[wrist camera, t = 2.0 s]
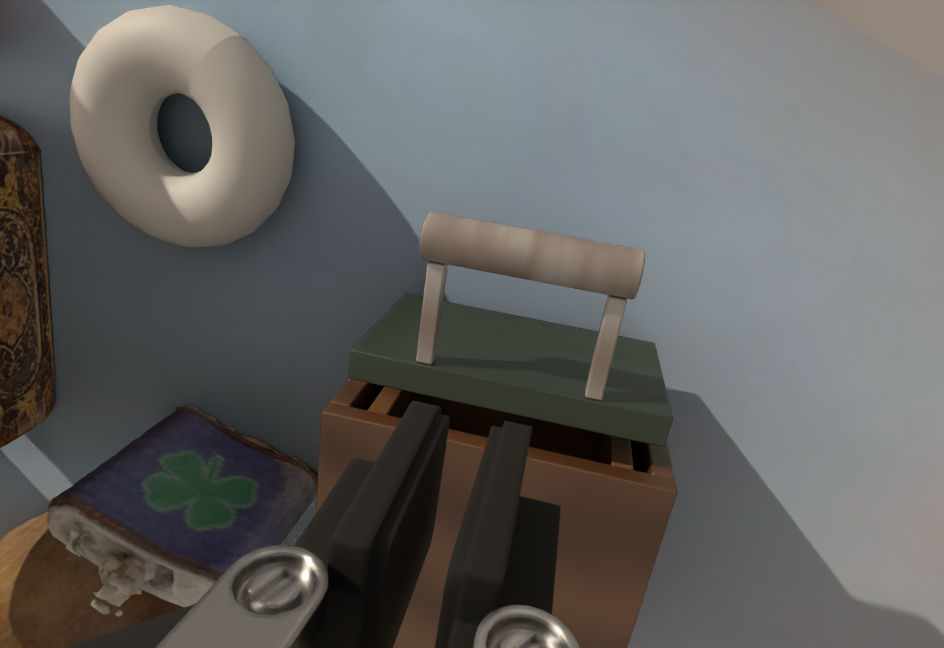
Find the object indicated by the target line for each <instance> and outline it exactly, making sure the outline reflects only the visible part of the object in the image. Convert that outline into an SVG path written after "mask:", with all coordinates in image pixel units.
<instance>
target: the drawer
mask: <svg viewBox="0 0 944 648" xmlns="http://www.w3.org/2000/svg"><path fill="white" fill-rule="evenodd" d="M420 255H421V258H422V259H423V260H427V261H429V262H428V263H427V271H426V280H425V288H424V297H420V296H414V295H409V294H404V295H403V296H402V297H401V298H400V299H399V300H398V301H397V302H396V303H395V304H394V305H393V306H392V307H391V308H390V310H389V311H388V312H387V313H386V314H385V315H384V316H383V317H382V318H381V319H380V320H379V321H378V322H377V323H376V324H375V325H374V326H373V327H372V328H371V329H370V331H369V332H368V333H367V334H366V335H365V336H364V337H363V338H362V339H361V340H360V341H359V342H358V343H357V344H356V345H355V346H354V347H353V348H352V349H351V353H350V366H349V378H350V379H353V380H358V381H362V382H367V383H371V384H376V385H381V386H385V387H384V388H383V390H382V391H381V392H380V394H379V395H378V397H377V398H376V399H375V401H374V402H373V403H372V405H371V406H370V408H369V409H368V410H367V411H371V412H376V413H380V414H385V415H389V416H394V417H398V418H402V417H403V415H404V413H405V412H406V410H407V408H408V407H409V405H410V403H411V402H412V401H417V402H422V403H426V404H431V405H435V406H440V407H441V415H446V416H450V423H449V429H452V430H456V431H461V432H465V433H470V434H474V435H479V436H483V437H487V438H488V436H489V433H490V430H491V427H492V426H495V427H500V428H503V424H504V421H508V422H513V423H517V424H522V425H526V426H531V427H532V433H531V438H530V444H529V447H532V448H537V449H541V450H546V451H550V452H555V453H559V454H563V455H568V456H572V457H577V458H581V459H586V460H590V461H595V462H599V463H604V464H608V465H613V466H617V467H622V468H626V469H631V470H634V468H633V458H632V448H631V440H633V441H638V442H642V443H647V444H651V445H656V446H660V447H664V446H665V444H666V441H667V437H668V434H669V431H670V428H671V424H672V421H673V417H672V412H671V408H670V404H669V400H668V396H667V392H666V388H665V383H664V379H663V375H662V371H661V367H660V363H659V359H658V354H657V350H656V346H655V343H652V342H647V341H642V340H637V339H632V338H627V337H622V336H618V335H619V331H620V327H621V323H622V319H623V315H624V311H625V307H626V303H627V299H634V298H635V297H636V295H637V293H638V290H639V286H640V283H641V279H642V274H643V269H644V263H645V251H644V250H642V249H636V248H631V247H625V246H620V245H614V244H609V243H603V242H598V241H592V240H587V239H581V238H575V237H570V236H564V235H559V234H553V233H548V232H542V231H537V230H531V229H525V228H520V227H514V226H509V225H503V224H498V223H492V222H487V221H481V220H475V219H470V218H464V217H459V216H453V215H448V214H442V213H437V212H429V213H428V215H427V217H426V219H425V221H424V224H423V228H422V233H421V239H420ZM448 265H454V266H459V267H464V268H470V269H475V270H480V271H485V272H491V273H496V274H501V275H506V276H512V277H517V278H522V279H527V280H533V281H538V282H543V283H548V284H554V285H559V286H564V287H569V288H575V289H580V290H585V291H590V292H596V293H601V294H606V295H607V299H606V304H605V308H604V312H603V316H602V321H601V325H600V329H599V332H596V331H591V330H586V329H581V328H576V327H571V326H566V325H561V324H556V323H551V322H546V321H541V320H536V319H531V318H526V317H521V316H516V315H510V314H505V313H500V312H495V311H490V310H485V309H480V308H475V307H470V306H465V305H460V304H455V303H450V302H445V301H443V297H444V289H445V282H446V274H447V266H448ZM626 298H627V299H626Z"/></svg>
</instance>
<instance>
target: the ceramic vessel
mask: <svg viewBox="0 0 944 648" xmlns="http://www.w3.org/2000/svg"><path fill="white" fill-rule="evenodd" d="M47 515H48V512H47V513H45V514H42V515H40V516H38V517H35V518H33V519H30V520H28V521H26V522H24V523H22V524H21V525H19V526H17V527H15V528H14V529H12V530H10V531H8V532H7V533H5V534H4V535H3V536H2V537H0V648H66V647H69V646H72V645H75V644H78V643H81V642H84V641H87V640H90V639H93V638H95V637H98V636H101V635H104V634H107V633H110V632H113V631H116V630H119V629H122V628H125V627H128V626H131V625H134V624H137V623H140V622H143V621H146V620H149V619H152V618H155V617H158V616H161V615H164V614H167V613H170V612H172V611H175V610H178V609H181V608H184V607H182V606H180V605H177V604H174V603H171V602H168V601H165V600H163V599H161V598H159V597H157V596H155V595H153V594H150V593H148V592H146V591H142V590H141V594H134V595H130V597H129V598H128V599H127V600H126V601H125V602H123V604H122V605H121V606H119V607H118V606H115V605H113V604H110V603H108V602H107V600H102V599H100V598H98V597H96V596H95V595H94V594H93V592H96V593H97V592H99V591H100V590H101V589H102V587H103V585H104V584H102V582H101V577H100V575H99V567H98V566H97V565H95V564H94V563H92V562H91V561H89V560H88V559H87V558H85V557H84V556H82V555H81V554H80V556H78V555H76V554H74V553H72V552H70V551H69V550H68V549H66V545H65V544H64V543H62V542H61V541H59V540H58V539H57V538H55V537H54V536H52V534H51V532H50V530H49V524H48V521H47ZM94 599H95V600H96V601H98V602H99V603H101V604H104V605H106V606H109V609H110V612H111V613H109V614H101V613H100V612H99V611H98V610H96V609H95V608H94V607H92V606H91V602H92V601H93V600H94ZM118 610H122V611H123V614H122V615H121V616H119V617H118V616H117V615H115V614H116V612H117V611H118Z"/></svg>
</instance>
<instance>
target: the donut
mask: <svg viewBox="0 0 944 648" xmlns="http://www.w3.org/2000/svg"><path fill="white" fill-rule="evenodd" d="M177 93H181V94H184V95H186V96H187V97H189V98H190V99H192V100H194V101H195V102H196V103H197V104H198V105H199V107H200V108H201V109H202V111H203V113H204V115H205V117H206V119H207V121H208V122H209V125H210V130H211V135H212V139H213V141H212V155H211V158H210V160H209V163H208V164H207V165H206V166H205V167H204V168H203V170H202V171H200V172H198V173H190V172H186V171H183V170H182V169H180V168H178V167H177V166H176V165H175V164H174V163H173V162H172V161H171V160H170V159H169V157H168V156H167V154H166V153H165V151H164V149H163V147H162V145H161V143H160V139H159V135H158V131H157V115H158V112H159V109H160V106H161V104H162V102H163V101H164V100H165V98H167V97H168V96H170V95H172V94H177ZM70 122H71V130H72V133H73V136H74V140H75V143H76V147H77V150H78V154H79V157H80V160H81V163H82V164H83V166H84V168H85V170H86V171H87V173H88V175H89V177H90V178H91V180H92V182H93V184H94V185H95V187H96V189H97V191H98V192H99V194H100V195H101V196H102V197H103V198H104V199H105V200H106V201H107V202H108V203H109V204H110V205H111V206H112V207H113V209H114V210H115V211H116V212H117V213H118V214H119V215H120V216H121V217H122V218H123V219H124V220H126V221H128V222H129V223H131V224H132V225H134V226H136V227H137V228H139V229H140V230H142V231H144V232H145V233H147V234H148V235H150V236H152V237H154V238H156V239H160V240H163V241H167V242H170V243H174V244H177V245H181V246H184V247H208V246H222V245H227V244H229V243H231V242H233V241H236V240H238V239H240V238H242V237H245V236H247V235H249V234H251V233H253V232H254V231H255V230H257V229H258V228H259V227H260V226H261V225H262V224H263V223H264V222H265V221H266V220H267V219H268V218H269V217H270V216H271V215H272V213H273V212H274V211H275V210H276V209H277V208H278V207H279V205H280V202H281V200H282V198H283V196H284V194H285V191H286V189H287V187H288V185H289V182H290V180H291V178H292V168H293V159H294V150H295V138H294V133H293V127H292V122H291V116H290V110H289V105H288V103H287V101H286V98H285V96H284V94H283V92H282V90H281V88H280V86H279V84H278V81H277V79H276V77H275V75H274V73H273V71H272V69H271V68H270V66H269V65H268V64H267V63H266V62H265V61H264V59H263V58H262V57H261V56H260V55H259V54H258V52H257V51H256V50H255V49H254V48H253V47H252V45H251V44H250V43H249V42H248V41H247V40H246V38H244V37H243V36H241V35H240V34H238V33H236V32H235V31H233V30H232V29H230V28H229V27H227V26H226V25H224V24H223V23H221V22H219V21H218V20H216V19H215V18H213V17H211V16H209V15H207V14H204V13H200V12H196V11H192V10H188V9H184V8H180V7H176V6H172V5H168V6H158V7H151V8H144V9H137V10H130V11H128V12H126V13H125V14H123V15H122V16H120V17H118V18H117V19H115V20H114V21H112V22H110V23H109V24H107V25H106V26H104V27H102V28H101V29H100V30H99V31H98V32H97V33H96V34H95V36H94V37H93V38H92V40H91V41H90V43H89V44H88V46H87V47H86V48H85V50H84V51H83V53H82V54H81V56H80V57H79V58H78V62H77V66H76V69H75V73H74V77H73V81H72V84H71V88H70Z"/></svg>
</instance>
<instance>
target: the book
mask: <svg viewBox="0 0 944 648" xmlns="http://www.w3.org/2000/svg"><path fill="white" fill-rule="evenodd" d="M40 152H41V151H40V149H39V147H38V145H37V144H36V142H35V141H34V140H33V138H32V137H31V136H30V135H29V134H28V133H27V132H26V131H25V130H24V129H22V128H21V127H20V126H19V125H17V124H16V123H14V122H12V121H11V120H9V119H7V118H5V117H2V116H0V448H1V447H3V446H5V445H6V444H8V443H10V442H11V441H13V440H15V439H16V438H18V437H20V436H21V435H23V434H25V433H26V432H28V431H30V430H31V429H32V428H33V427H35V426H36V425H38V424H39V423H41V422H42V421H43V420H44V419H45V418H46V417H47V416H48V415H49V414H50V413H51V411H52V409H53V407H54V404H55V384H54V351H53V336H52V321H51V306H50V291H49V277H48V262H47V247H46V232H45V218H44V203H43V188H42V173H41V158H40Z"/></svg>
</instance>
